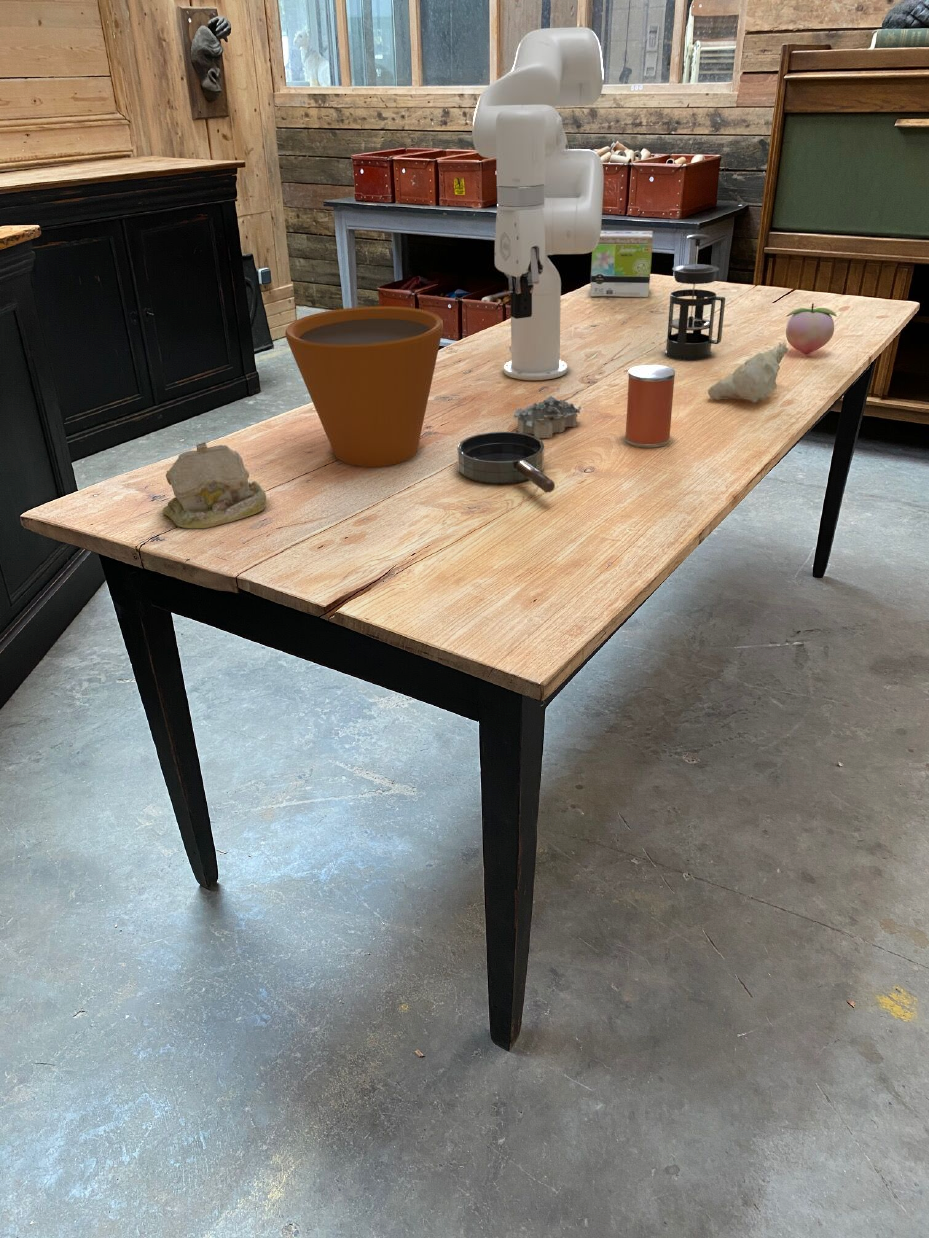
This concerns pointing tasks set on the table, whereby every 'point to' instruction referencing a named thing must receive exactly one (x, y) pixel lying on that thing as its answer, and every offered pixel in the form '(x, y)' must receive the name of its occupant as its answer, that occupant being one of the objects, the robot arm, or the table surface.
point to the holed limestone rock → (751, 377)
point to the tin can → (649, 406)
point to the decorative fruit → (809, 328)
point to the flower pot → (368, 377)
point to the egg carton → (546, 417)
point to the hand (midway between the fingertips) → (521, 316)
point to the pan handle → (535, 476)
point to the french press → (692, 343)
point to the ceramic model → (211, 488)
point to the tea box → (622, 264)
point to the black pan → (499, 456)
